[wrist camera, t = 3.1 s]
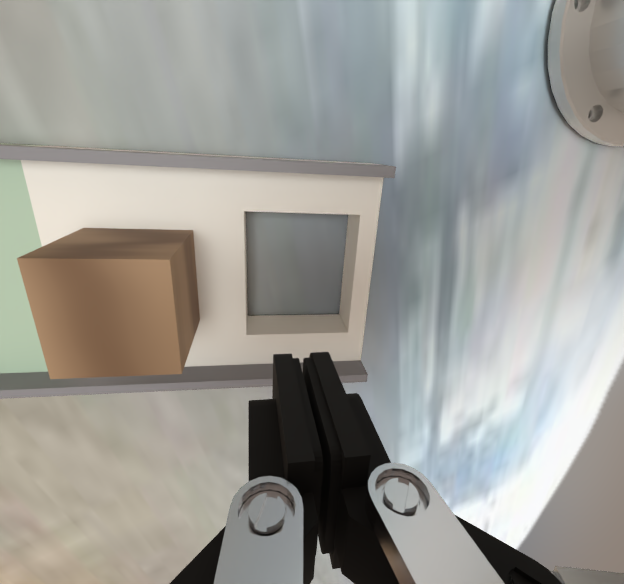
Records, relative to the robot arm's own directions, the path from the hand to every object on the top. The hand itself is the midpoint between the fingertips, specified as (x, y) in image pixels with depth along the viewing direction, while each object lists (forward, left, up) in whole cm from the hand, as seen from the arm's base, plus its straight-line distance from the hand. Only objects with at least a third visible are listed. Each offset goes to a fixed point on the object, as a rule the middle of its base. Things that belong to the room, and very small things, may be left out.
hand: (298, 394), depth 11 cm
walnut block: (+7, 0, -9) cm, 12 cm away
